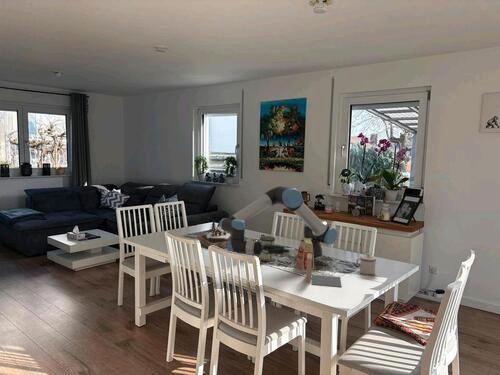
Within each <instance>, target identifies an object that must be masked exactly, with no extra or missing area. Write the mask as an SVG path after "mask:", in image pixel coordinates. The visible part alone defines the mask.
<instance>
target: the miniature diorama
mask: <svg viewBox="0 0 500 375" xmlns="http://www.w3.org/2000/svg"><path fill="white" fill-rule="evenodd" d="M219 224H220V222H218V224H217V225H216V222H215V220H213V221H212V224H211V226H210V228H209V232H208V233H207V234H208V235H207V236H206V238H205V240H207V241H209V242H211V243H219V242H227V241H228V240H230V239H231V238H232V236H231V235H230V234H229V233H226V231H224V230H222V229H221V228H220V225H219Z"/></svg>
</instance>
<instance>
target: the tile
mask: <svg viewBox="0 0 500 375" xmlns="http://www.w3.org/2000/svg"><path fill="white" fill-rule="evenodd" d="M312 271H313V270H312V254H311V253H308V254H307V269H306V271H305V274H306V275H305V283H306V284H310V283H311V282H312Z"/></svg>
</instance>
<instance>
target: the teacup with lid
mask: <svg viewBox="0 0 500 375" xmlns="http://www.w3.org/2000/svg"><path fill="white" fill-rule="evenodd" d="M359 261H360V264H359ZM376 261H377V259H376V257H374V256H372V255H371V253H366V254H364V255H361V256H360V258H357V259H356V265H357V267H359V272H360V273H361V274H363V275H368V274H371V275H374V274H375V273H376Z"/></svg>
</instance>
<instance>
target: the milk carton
mask: <svg viewBox="0 0 500 375" xmlns="http://www.w3.org/2000/svg"><path fill="white" fill-rule="evenodd" d="M308 253H311V254H312V271H314V270H315V259H314V257H315V256H314V254H313V245H312V242H311V238H304V236H302V239H301V240H300V242H299V246H298V249H297V253H296V254H297V255H296V260H295V266H294V267H295V268H296V269H298V270H300V271H302V272H306V269H307V254H308Z"/></svg>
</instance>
